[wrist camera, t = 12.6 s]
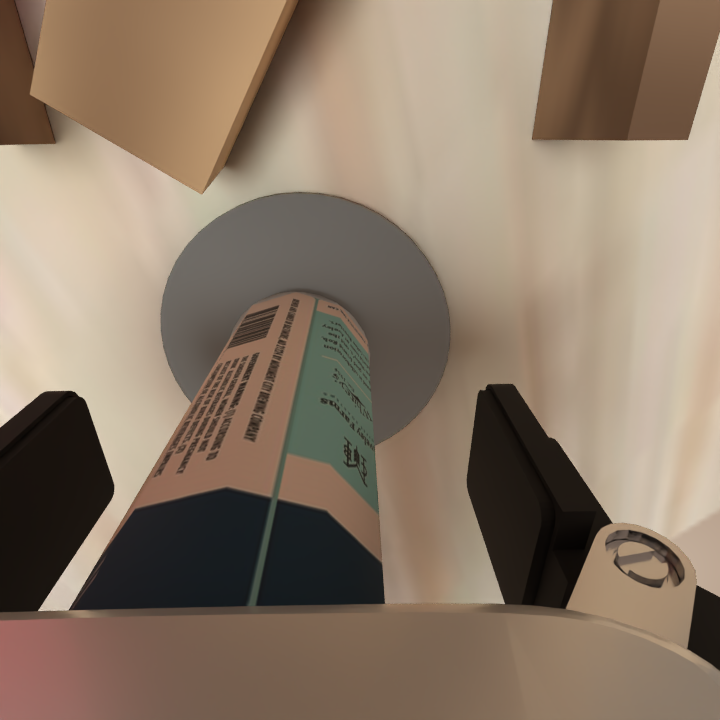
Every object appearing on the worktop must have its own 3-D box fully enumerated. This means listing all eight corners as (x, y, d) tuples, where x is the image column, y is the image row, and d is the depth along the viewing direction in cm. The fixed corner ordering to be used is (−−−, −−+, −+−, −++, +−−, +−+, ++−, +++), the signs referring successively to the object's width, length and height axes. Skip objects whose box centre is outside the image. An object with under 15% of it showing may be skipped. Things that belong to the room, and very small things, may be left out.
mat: (437, 448, 18) (439, 456, 18) (193, 453, 18) (189, 461, 18) (460, 190, 14) (463, 192, 13) (135, 193, 13) (128, 195, 13)
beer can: (220, 388, 16) (-39, 894, 5) (248, 267, 14) (-85, 700, 3) (345, 422, 17) (331, 923, 6) (389, 311, 15) (482, 780, 4)
